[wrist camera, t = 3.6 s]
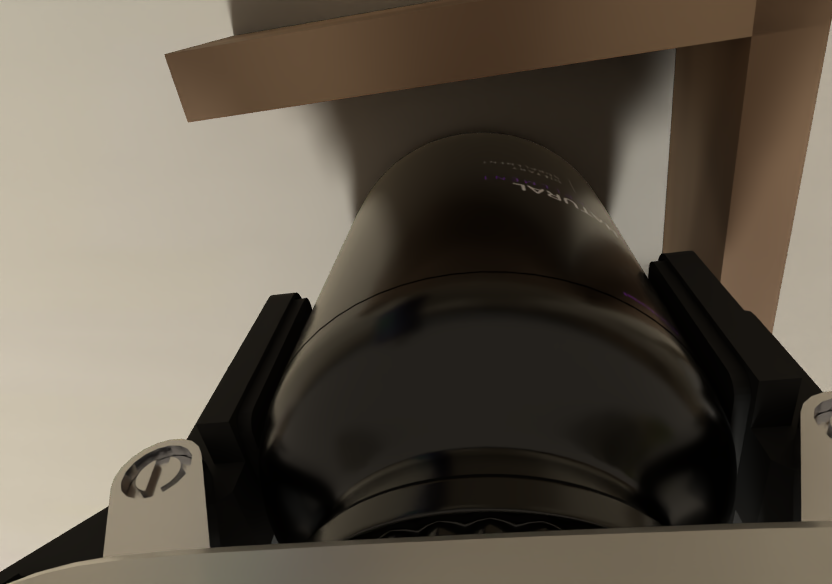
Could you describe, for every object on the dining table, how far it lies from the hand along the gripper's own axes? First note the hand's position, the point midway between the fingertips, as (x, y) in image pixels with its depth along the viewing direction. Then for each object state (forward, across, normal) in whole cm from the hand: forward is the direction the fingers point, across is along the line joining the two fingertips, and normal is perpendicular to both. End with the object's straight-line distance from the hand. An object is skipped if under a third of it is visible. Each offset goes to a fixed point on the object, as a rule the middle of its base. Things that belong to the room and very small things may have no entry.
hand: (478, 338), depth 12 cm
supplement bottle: (+5, 0, 0) cm, 5 cm away
